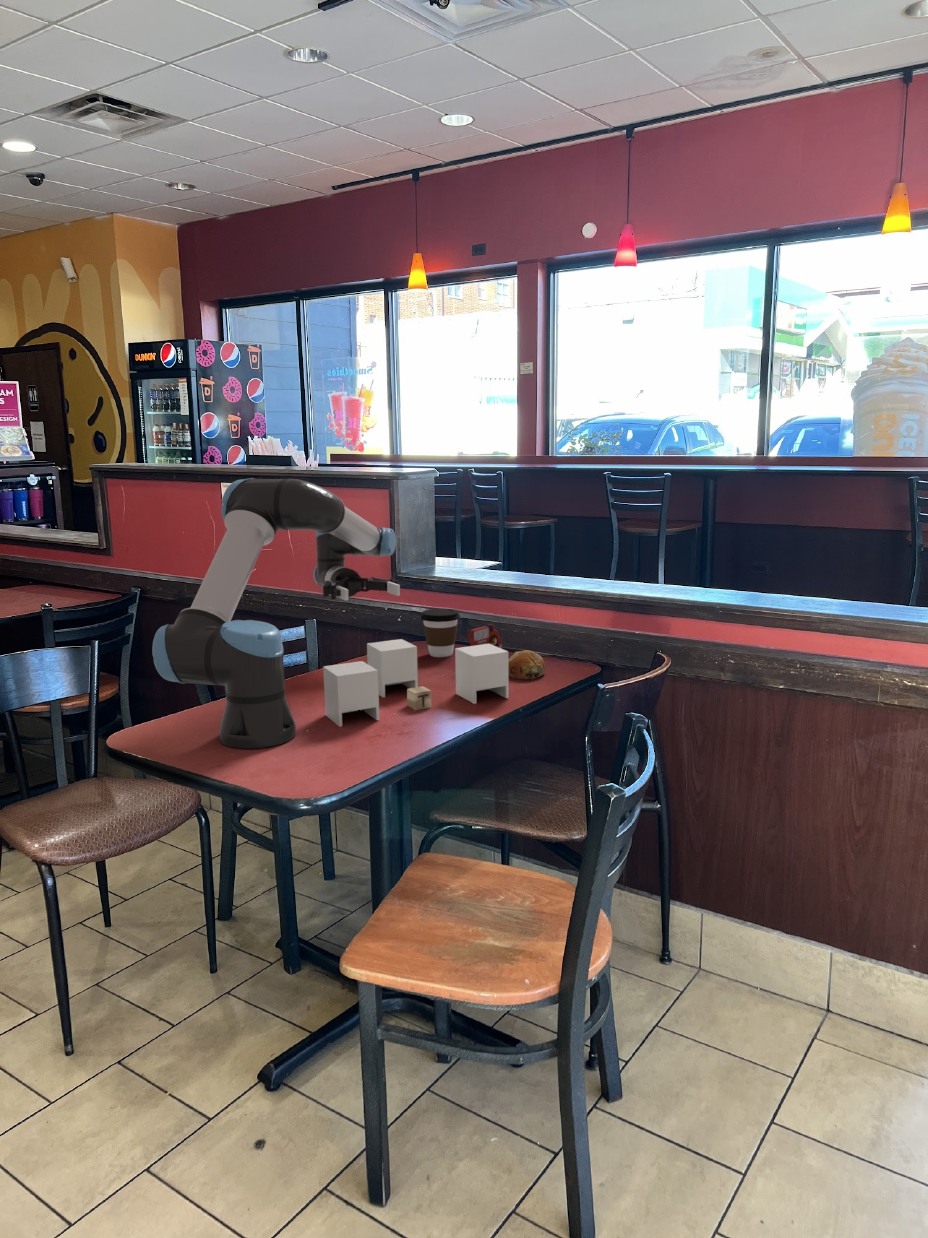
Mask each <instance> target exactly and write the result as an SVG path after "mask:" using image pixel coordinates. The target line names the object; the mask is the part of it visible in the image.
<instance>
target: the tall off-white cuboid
mask: <svg viewBox="0 0 928 1238" xmlns="http://www.w3.org/2000/svg"><path fill="white" fill-rule="evenodd" d="M366 656H367V660H366V661H367V664H368V665H370V666H371V667H373V668H375V669H376V670H378V692H379V697H381V698H386V687H388V686H395V685H403V686H405V687H406V688H407V689H410V688H416V687H419V684H418V683H419V679H418V678H419V676H418V671H419V670H418V647H417V646H416V645H414V644H412V643H411V642H408V641H406V640H405V639H403V638H400V639H390V640H383V641H376V642H367V643H366Z"/></svg>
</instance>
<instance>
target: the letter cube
mask: <svg viewBox="0 0 928 1238" xmlns="http://www.w3.org/2000/svg"><path fill="white" fill-rule="evenodd" d="M406 696H407V697H406V698H407V700H406V701H407V707H409V708H410V709H412V710H414V711H418V710H419V709H420V710H424V709H431V708H432V690H431V689H429V688H427V687H426V686H418V687H416V688H407V689H406ZM420 710H419V711H420Z"/></svg>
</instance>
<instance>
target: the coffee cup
mask: <svg viewBox="0 0 928 1238" xmlns="http://www.w3.org/2000/svg"><path fill="white" fill-rule="evenodd" d="M460 618H461V615H460V614H459V611H458V610H456V609H452V608H430V609H425V610H423V611H422V612H421V615H420V620H422V621H423V632H424V637H425V641H426V645H427V649H428V653H429V655H430V656H431V657H434V658H448V657H451V656H452V655H453V653H454V650H455V648H454V647H455V644H456V639H457V632H458V625H459V624H458V620H459V619H460Z"/></svg>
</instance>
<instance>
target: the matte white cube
mask: <svg viewBox="0 0 928 1238" xmlns="http://www.w3.org/2000/svg"><path fill="white" fill-rule="evenodd" d="M322 669H323V670H322V671H323V689H324V690H323V691H324V706H325V707H324V711H325V713H324V714H325V716H326V717H327V718H328V719H329V720H331V721H332V722H333V723H334V724H335V725H337V726H338V727H339V728H340V727H343V714H346V713H347V714H348V713H351V712H352V713H353V712H358V710H360V711H363V710H364V713H366V714H367V715H369V716H370V717H371V718H373V719H374V720H376V721H380V698H379V697H380V695H379V692H378V670H376V669H375V668H373V667H371V666H370V665H368V663H366V662H365V661H363V660H361V661H353V662H347V663H346V662H345V663H339V664H332V665H325V666H324V665H323V667H322Z"/></svg>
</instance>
